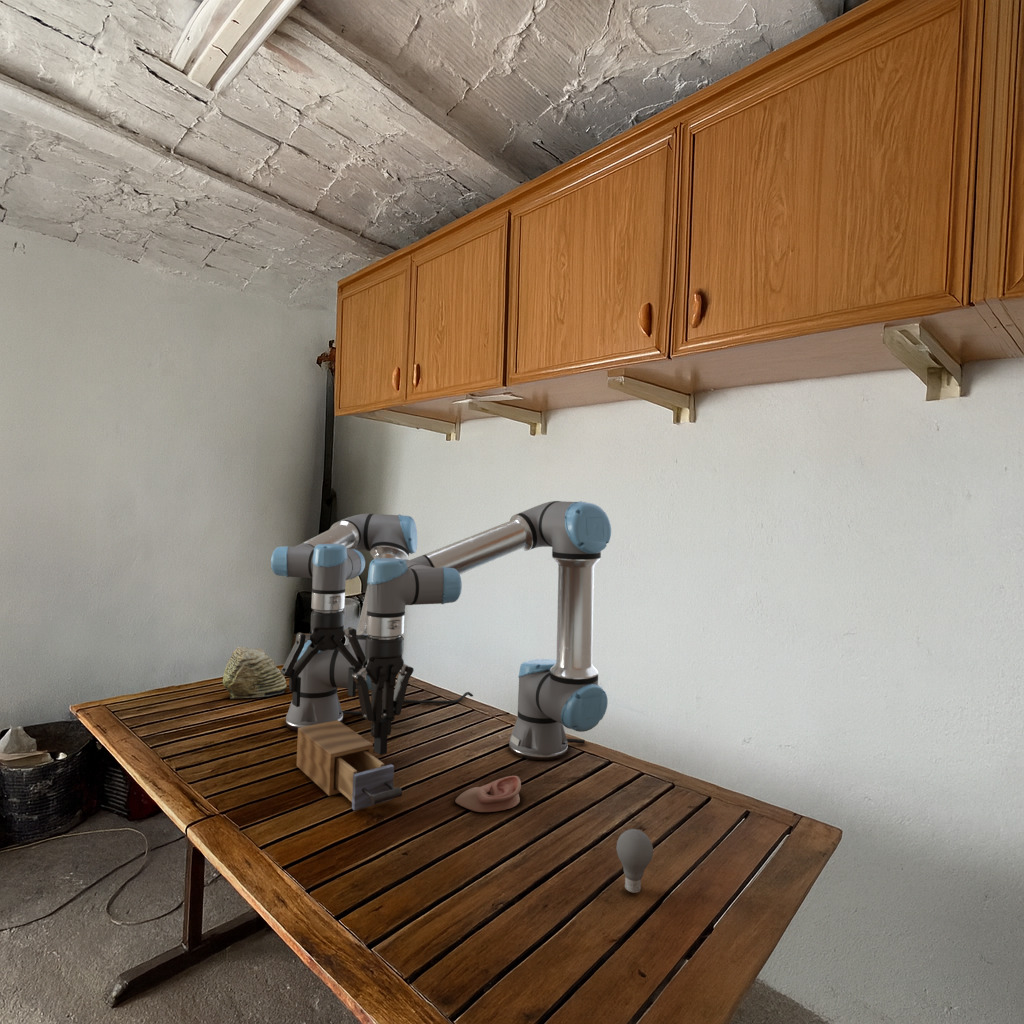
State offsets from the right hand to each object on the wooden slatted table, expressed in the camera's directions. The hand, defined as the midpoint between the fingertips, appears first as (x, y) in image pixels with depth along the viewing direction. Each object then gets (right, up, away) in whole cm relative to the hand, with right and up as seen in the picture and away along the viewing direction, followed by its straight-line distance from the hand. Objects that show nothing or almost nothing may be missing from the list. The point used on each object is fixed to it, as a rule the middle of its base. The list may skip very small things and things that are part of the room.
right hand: (380, 752), depth 128 cm
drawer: (-5, -11, +6) cm, 14 cm away
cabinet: (-14, -12, +17) cm, 25 cm away
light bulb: (+47, -15, -22) cm, 54 cm away
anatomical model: (+22, -13, +7) cm, 26 cm away
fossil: (-54, -9, +70) cm, 89 cm away
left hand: (-17, +4, +21) cm, 28 cm away
